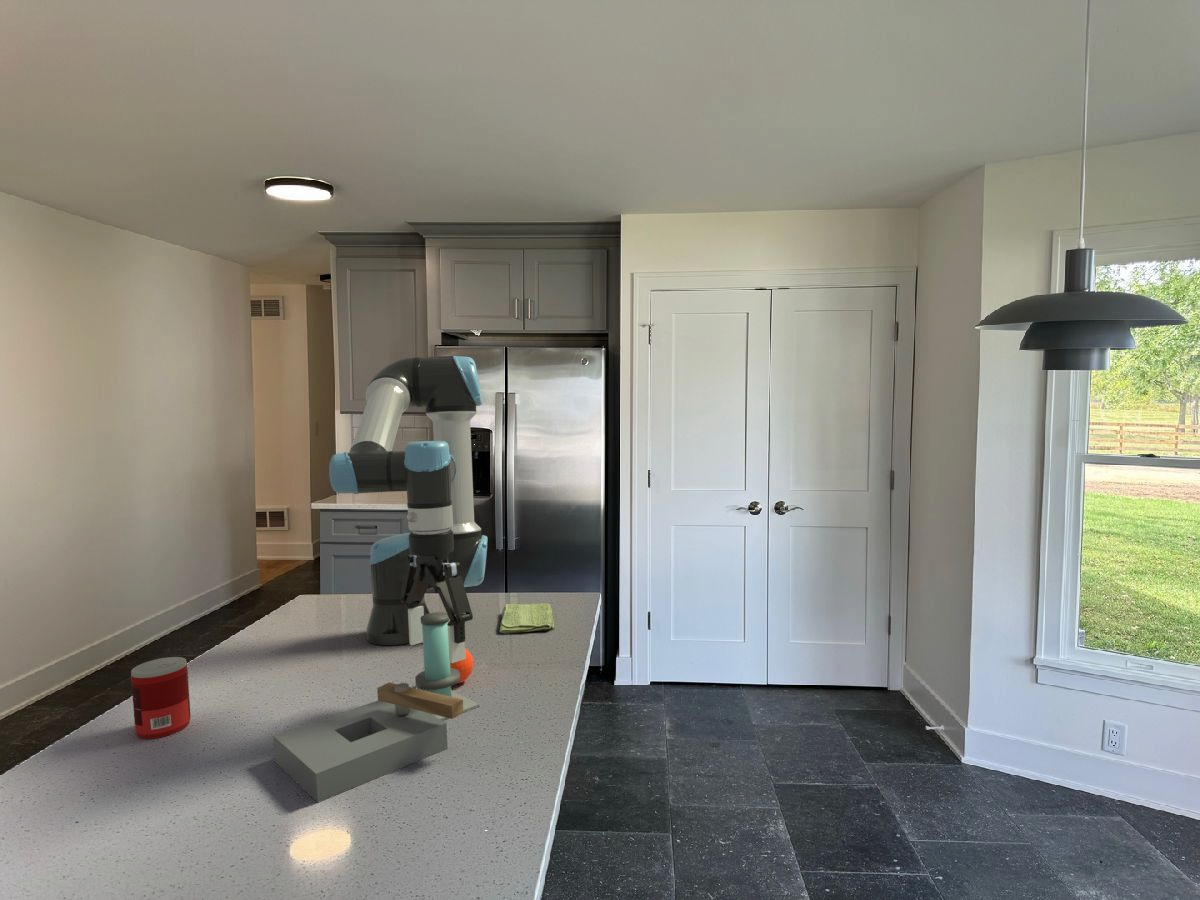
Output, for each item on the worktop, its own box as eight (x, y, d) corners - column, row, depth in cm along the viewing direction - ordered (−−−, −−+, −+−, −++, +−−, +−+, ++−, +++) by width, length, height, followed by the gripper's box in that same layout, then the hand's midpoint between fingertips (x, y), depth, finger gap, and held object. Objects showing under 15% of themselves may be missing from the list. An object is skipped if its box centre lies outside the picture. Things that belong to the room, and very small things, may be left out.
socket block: (274, 761, 104) (273, 735, 104) (397, 717, 118) (395, 694, 118) (317, 802, 93) (316, 773, 93) (447, 748, 107) (446, 723, 106)
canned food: (201, 721, 119) (197, 658, 119) (158, 742, 112) (153, 676, 111) (168, 715, 122) (164, 654, 121) (124, 736, 114) (119, 671, 114)
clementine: (425, 685, 132) (423, 648, 131) (449, 672, 138) (447, 637, 137) (458, 692, 128) (456, 654, 128) (481, 678, 134) (480, 642, 134)
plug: (408, 705, 122) (404, 617, 121) (446, 692, 127) (442, 607, 126) (431, 718, 116) (426, 626, 115) (469, 704, 121) (465, 615, 121)
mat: (399, 708, 122) (399, 706, 122) (448, 690, 129) (448, 688, 129) (428, 725, 115) (428, 723, 114) (479, 706, 121) (479, 704, 121)
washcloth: (498, 637, 160) (498, 623, 159) (502, 614, 177) (502, 602, 177) (555, 633, 161) (555, 620, 161) (553, 611, 178) (553, 599, 178)
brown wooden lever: (390, 704, 113) (388, 678, 113) (463, 723, 105) (462, 695, 105) (378, 710, 111) (377, 684, 111) (452, 730, 103) (451, 702, 103)
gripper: (377, 526, 126) (383, 641, 127) (450, 542, 108) (457, 675, 109) (414, 520, 131) (419, 631, 132) (490, 534, 113) (496, 662, 115)
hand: (436, 651), depth 121 cm, fingers open, 13 cm apart
